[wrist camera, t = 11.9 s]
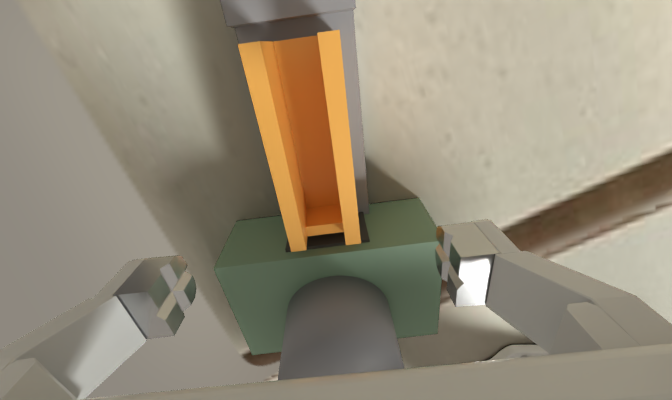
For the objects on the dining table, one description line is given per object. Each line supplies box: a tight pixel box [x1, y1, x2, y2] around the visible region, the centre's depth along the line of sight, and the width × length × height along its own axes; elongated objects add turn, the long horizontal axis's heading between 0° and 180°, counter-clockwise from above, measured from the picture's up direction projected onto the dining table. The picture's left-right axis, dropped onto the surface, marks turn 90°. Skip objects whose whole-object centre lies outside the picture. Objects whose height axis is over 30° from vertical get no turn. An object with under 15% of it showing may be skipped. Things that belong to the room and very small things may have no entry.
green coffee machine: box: [214, 0, 442, 380], centre depth 18 cm, size 16×25×11 cm, turn 7°
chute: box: [238, 30, 361, 252], centre depth 18 cm, size 5×12×5 cm, turn 7°
